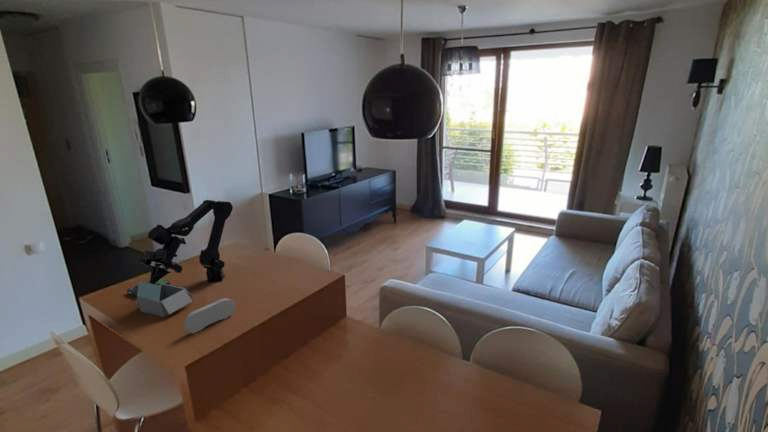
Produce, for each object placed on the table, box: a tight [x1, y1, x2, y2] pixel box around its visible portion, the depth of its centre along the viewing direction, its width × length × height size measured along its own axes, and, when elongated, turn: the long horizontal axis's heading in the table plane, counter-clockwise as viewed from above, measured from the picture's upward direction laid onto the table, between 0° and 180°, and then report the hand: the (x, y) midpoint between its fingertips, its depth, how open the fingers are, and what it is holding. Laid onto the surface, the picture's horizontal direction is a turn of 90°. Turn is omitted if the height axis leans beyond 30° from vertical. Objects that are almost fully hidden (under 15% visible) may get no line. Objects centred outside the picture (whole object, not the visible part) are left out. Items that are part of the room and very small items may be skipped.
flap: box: [137, 280, 161, 301], centre depth 157 cm, size 6×13×1 cm
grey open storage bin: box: [135, 284, 194, 319], centre depth 165 cm, size 15×20×7 cm
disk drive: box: [126, 278, 171, 300], centre depth 181 cm, size 10×3×15 cm
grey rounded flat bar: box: [183, 297, 236, 334], centre depth 149 cm, size 20×2×8 cm, turn 140°
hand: (151, 284), depth 158 cm, fingers closed
